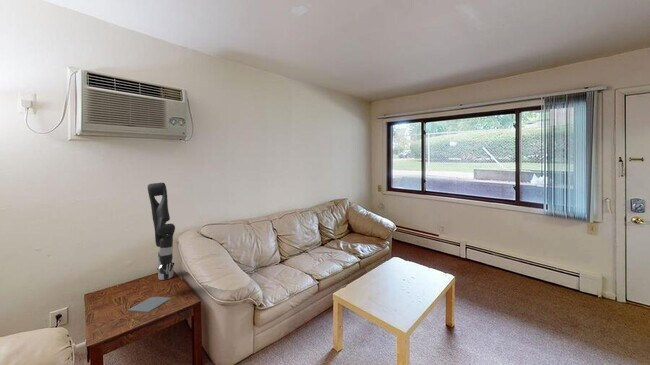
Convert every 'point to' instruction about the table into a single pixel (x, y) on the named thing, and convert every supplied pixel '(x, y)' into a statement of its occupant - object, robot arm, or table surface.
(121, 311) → the table surface
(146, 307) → the mat
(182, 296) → the table surface
